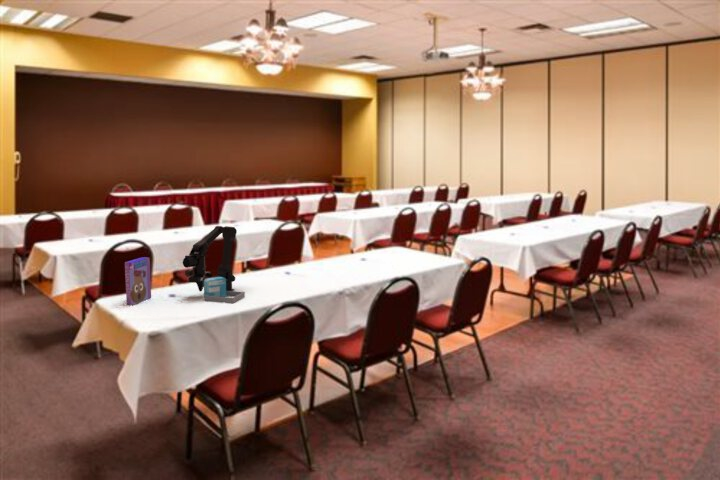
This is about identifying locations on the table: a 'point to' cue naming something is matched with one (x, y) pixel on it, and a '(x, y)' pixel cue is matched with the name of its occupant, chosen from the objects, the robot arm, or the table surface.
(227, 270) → the robot arm
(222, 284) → the data package
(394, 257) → the table surface
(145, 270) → the cereal box
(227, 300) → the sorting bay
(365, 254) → the table surface
